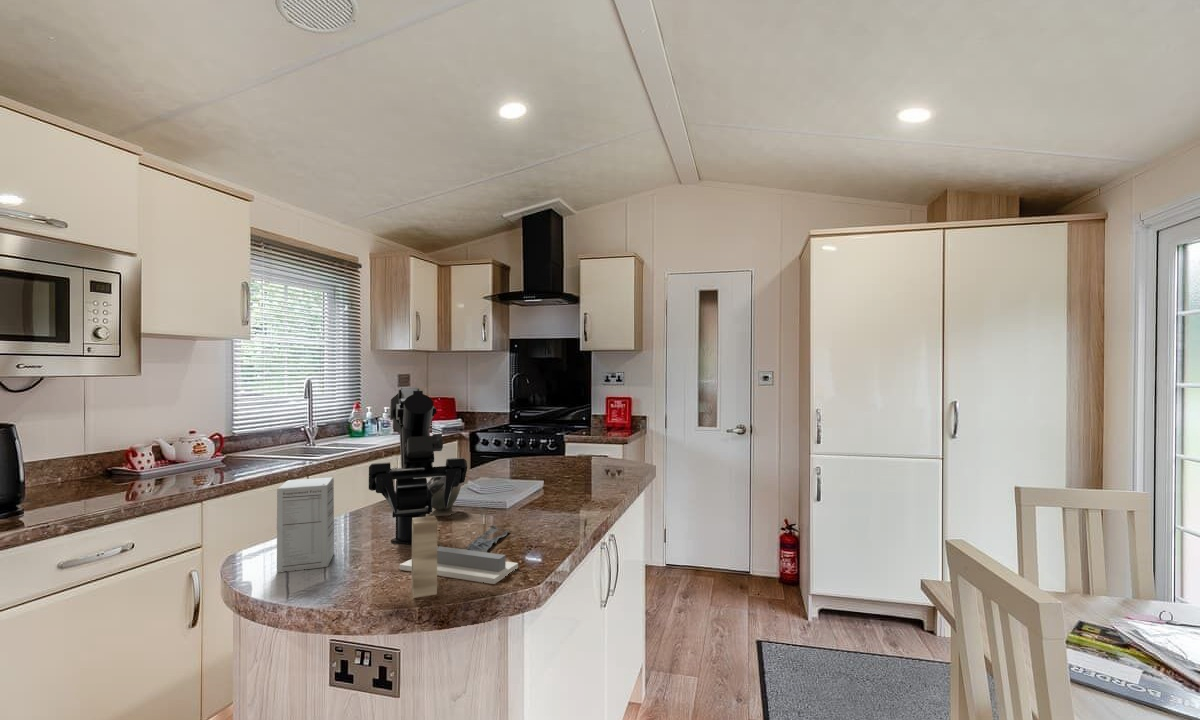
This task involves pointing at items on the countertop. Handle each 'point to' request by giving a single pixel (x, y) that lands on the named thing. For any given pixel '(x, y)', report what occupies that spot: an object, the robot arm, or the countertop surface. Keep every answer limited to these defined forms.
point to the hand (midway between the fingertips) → (421, 509)
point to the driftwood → (485, 541)
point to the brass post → (424, 556)
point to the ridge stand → (469, 565)
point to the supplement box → (305, 524)
